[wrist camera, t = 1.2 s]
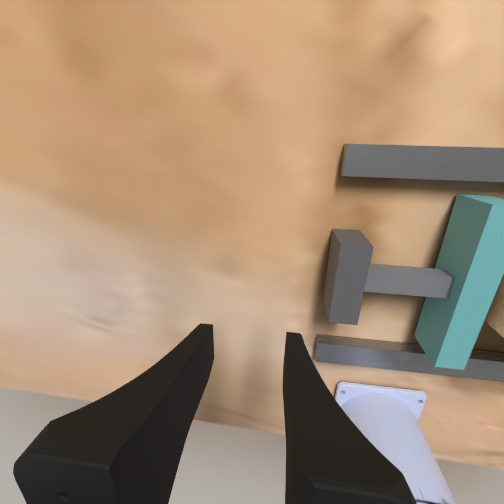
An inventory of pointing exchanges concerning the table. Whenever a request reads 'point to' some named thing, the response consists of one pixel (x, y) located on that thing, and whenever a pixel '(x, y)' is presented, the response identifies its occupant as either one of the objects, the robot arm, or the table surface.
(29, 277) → the table surface
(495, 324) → the steel block
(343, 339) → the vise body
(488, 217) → the sliding jaw
